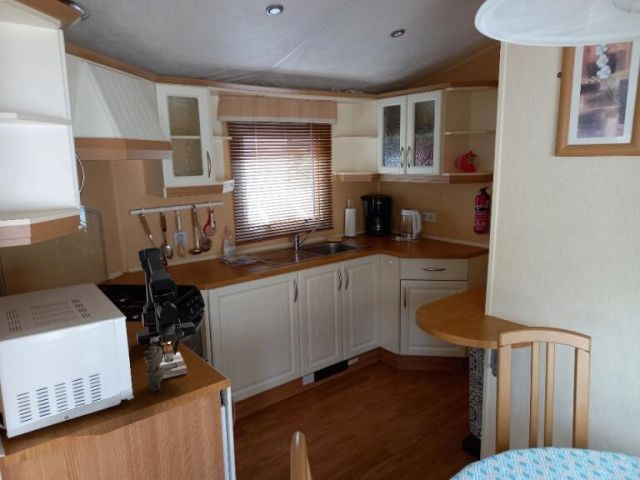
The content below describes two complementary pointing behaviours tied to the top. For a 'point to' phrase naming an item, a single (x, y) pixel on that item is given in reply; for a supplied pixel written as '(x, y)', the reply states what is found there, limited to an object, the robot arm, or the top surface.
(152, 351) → the grey stone figurine
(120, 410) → the top surface
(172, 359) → the brown round tapered piece
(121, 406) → the top surface
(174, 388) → the top surface
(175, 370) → the white block
